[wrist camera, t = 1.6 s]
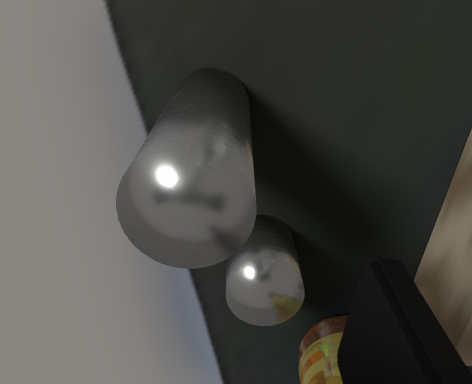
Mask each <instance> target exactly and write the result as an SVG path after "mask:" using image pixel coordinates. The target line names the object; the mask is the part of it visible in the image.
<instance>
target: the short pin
mask: <svg viewBox="0 0 472 384" xmlns="http://www.w3.org/2000/svg"><path fill="white" fill-rule="evenodd" d="M304 296H305V290H304V285H303V280H302V276H301V271H300V267H299V262H298V258H297V253H296V249H295V244H294V240H293V236H292V233H291V231H290V229H289V228H288V226H287V225H286V224H285V223H283V222H282V221H281V220H279V219H277V218H275V217H272V216H268V215H256V219H255V223H254V227H253V229H252V232H251V234H250V236H249V237H248V239H247V241H246V242H245V243H244V245H243V246H242V247H241V248H240V249H239V250H238V251H237V252H236V253H235V254H233V255H232V256H230V257H229V258H227V280H226V300H227V303H228V306H229V308H230V309H231V311H232V312H233V313H234V314H235V315H236V316H237V317H238V318H239V319H241V320H243V321H245V322H247V323H249V324H253V325H258V326H271V325H276V324H279V323H282V322H284V321H286V320H288V319H290V318H291V317H292V316H294V315H295V314H296V313H297V312H298V310H299V309H300V308H301V306H302V304H303V301H304Z"/></svg>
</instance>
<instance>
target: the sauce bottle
mask: <svg viewBox="0 0 472 384" xmlns="http://www.w3.org/2000/svg"><path fill="white" fill-rule="evenodd" d="M347 319H348V315H342V316H334V317H329V318H326V319H323V320H321V321H320V322H319V323H316V324H315V325H314V326H313V327H311V328H310V329H309V330H308V332H307V333H306V335H305V336H304V338H303V339H302V341H301V344H300V347H299V349H300V351H299V377H300V383H301V384H343V383H342V379H341V375H340V372H339V368H338V363H337V353H338V348H339V345H340V341H341V338H342V335H343V332H344V328H345V325H346V322H347Z"/></svg>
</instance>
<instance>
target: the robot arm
mask: <svg viewBox="0 0 472 384" xmlns="http://www.w3.org/2000/svg"><path fill="white" fill-rule="evenodd" d="M337 363H338V368H339V372H340V375H341V379H342V383H343V384H472V374H471V373H470V371H469V370H468V368H467V366H466V365H465V363H464V362H463V360H462V358H461V357H460V355H459V354H458V352H457V350H456V349H455V347H454V345H453V344H452V342H451V341H450V339H449V337H448V336H447V334H446V333H445V331H444V329H443V328H442V326H441V325H440V323H439V321H438V320H437V318H436V317H435V315H434V313H433V312H432V310H431V308H430V307H429V305H428V304H427V302H426V300H425V299H424V297H423V296H422V294H421V292H420V291H419V289H418V288H417V286H416V284H415V283H414V281H413V279H412V278H411V276H410V275H409V273H408V271H407V270H406V268H405V267H404V265H403V263H402V262H401V261H399V260H391V259H384V258H374V259H373V261H372V262H371V263H368V262H367V263H365V265H364V267H363V270H362V273H361V276H360V279H359V283H358V286H357V289H356V292H355V296H354V299H353V302H352V305H351V309H350V312H349V315H348V319H347V322H346V325H345V328H344V332H343V335H342V338H341V341H340V345H339V348H338V353H337Z"/></svg>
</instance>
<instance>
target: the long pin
mask: <svg viewBox="0 0 472 384" xmlns="http://www.w3.org/2000/svg"><path fill="white" fill-rule="evenodd" d="M116 208H117V214H118V218H119V221H120V224H121V227H122V229H123V231H124V233H125V234H126V236H127V237H128V238H129V240H130V241H131V242H132V243H133V244H134V246H135V247H137V248H138V249H139V250H140V251H141V252H142V253H144V254H145V255H147V256H148V257H150V258H152V259H153V260H155V261H158V262H160V263H162V264H166V265H169V266H173V267H178V268H188V269H189V268H202V267H207V266H211V265H214V264H217V263H219V262H222V261H224V260H225V259H227V258H229V257H230V256H232V255H233V254H235V253H236V252H237V251H238V250H239V249H240V248H241V247H242V246H243V245H244V243H245V242H246V241H247V239H248V237H249V236H250V234H251V232H252V229H253V227H254V223H255V219H256V196H255V181H254V166H253V151H252V137H251V122H250V107H249V98H248V95H247V92H246V90H245V88H244V86H243V85H242V83H241V82H240V81H239V80H238V79H237V78H236V77H235V76H233V75H232V74H230V73H229V72H227V71H224V70H221V69H217V68H205V69H201V70H198V71H195V72H193V73H191V74H190V75H188V76H187V77H186V78H185V79H184V80H183V81H182V82H181V84H180V85H179V87H178V89H177V90H176V92H175V93H174V95H173V97H172V98H171V100H170V101H169V103H168V105H167V106H166V108H165V110H164V111H163V113H162V114H161V116H160V118H159V119H158V121H157V122H156V124H155V126H154V127H153V129H152V130H151V132H150V134H149V135H148V137H147V138H146V140H145V142H144V143H143V145H142V147H141V148H140V150H139V151H138V153H137V155H136V156H135V158H134V159H133V161H132V163H131V164H130V166H129V167H128V169H127V171H126V172H125V174H124V176H123V177H122V179H121V182H120V184H119V188H118V192H117V198H116Z"/></svg>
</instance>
